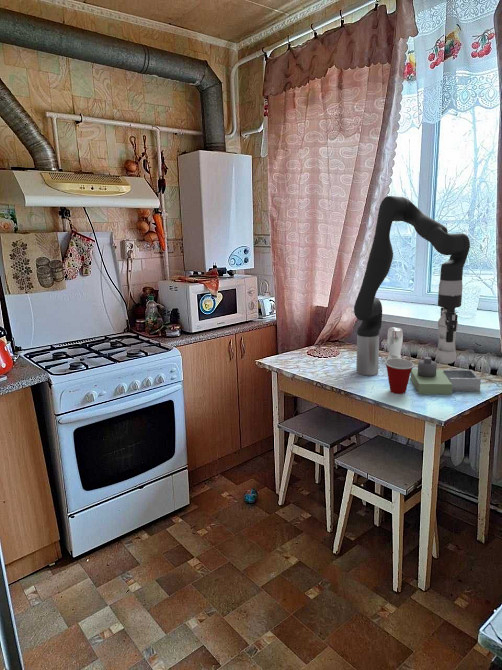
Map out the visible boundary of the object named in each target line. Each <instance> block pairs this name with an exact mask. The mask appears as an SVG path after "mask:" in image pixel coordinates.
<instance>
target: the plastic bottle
mask: <svg viewBox="0 0 502 670" xmlns="http://www.w3.org/2000/svg"><path fill="white" fill-rule="evenodd" d="M444 312H447V309H445V308H443V313H444ZM447 322H449V321H448V320H447ZM458 326H459V322H458V320H457V327H456V331H454V334H453V342H446V332H447V331H446V325H445V319H444V317H443V315H442V316H441V315H440V318H439V319H438V321H437V329H438V331H437V332H438V342H437V349H436V351H435V352H436V353H435V359H436V361H437V362H438V363H441V364H453V363H455V362H456V360H457V352H456V336H457V330H458ZM450 328H452V325H451V326H450Z"/></svg>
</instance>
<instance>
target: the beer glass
mask: <svg viewBox="0 0 502 670" xmlns="http://www.w3.org/2000/svg"><path fill="white" fill-rule="evenodd" d="M386 337H387V341H386V342H387V346H388V347H387V349H388V357H387V359H391V358H398V359H402V357H401V351H402V348H403V347H402V346H403V340H404V334H403V328H401V327H389V328H387V335H386Z"/></svg>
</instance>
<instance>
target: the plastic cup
mask: <svg viewBox="0 0 502 670" xmlns="http://www.w3.org/2000/svg"><path fill="white" fill-rule="evenodd" d="M384 365H385V366H386V372H387V377H388V384H389V385H388V386H389V390H390V392H391V393H392V394H397V395H402V394H405V393H407V392H406V391H407V388H408V384H409V381H410V377H411V370H412V369H414V368H415V367H414V366H415V364H414V362H413V361H411V360H408V359H405V358H401V359H398V358H391V359H388V358H387V359H385V360H384Z"/></svg>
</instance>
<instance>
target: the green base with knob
mask: <svg viewBox="0 0 502 670" xmlns="http://www.w3.org/2000/svg"><path fill="white" fill-rule="evenodd" d="M437 365H438V364H437V362H436V361H434V360H432V358H431V356H423V359H421V360H418V362H417V368H412V370H411V373H410V377H409V379H410V380H411V382H412V383H413V386H414V388H415V389H416V392H417V394H419V395H453V391H452V383H451V382H450V380H449V379H448V378H447V376H446V375H445V374H444V372H443V369H441V368H437V367H438V366H437Z"/></svg>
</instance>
